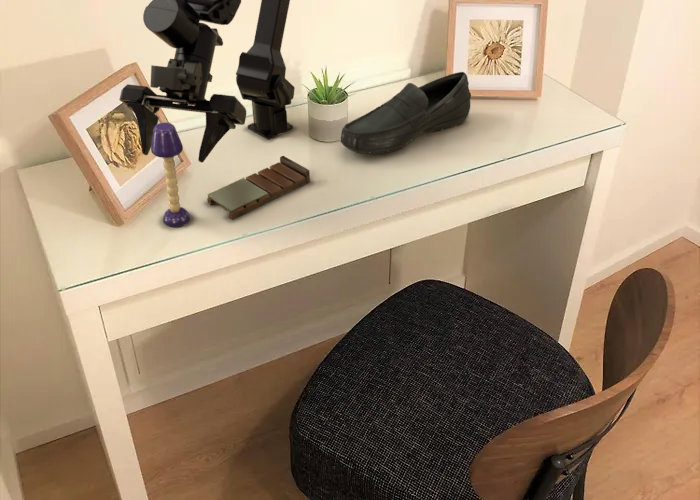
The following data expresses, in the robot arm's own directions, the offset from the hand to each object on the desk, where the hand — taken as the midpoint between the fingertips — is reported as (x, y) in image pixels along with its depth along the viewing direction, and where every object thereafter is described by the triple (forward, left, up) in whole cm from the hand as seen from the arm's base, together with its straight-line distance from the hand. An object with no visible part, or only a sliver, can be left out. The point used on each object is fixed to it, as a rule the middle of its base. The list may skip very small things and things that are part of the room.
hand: (172, 158), depth 115 cm
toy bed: (+3, +13, -11) cm, 17 cm away
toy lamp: (+1, -1, -11) cm, 11 cm away
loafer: (+7, +46, -11) cm, 47 cm away
